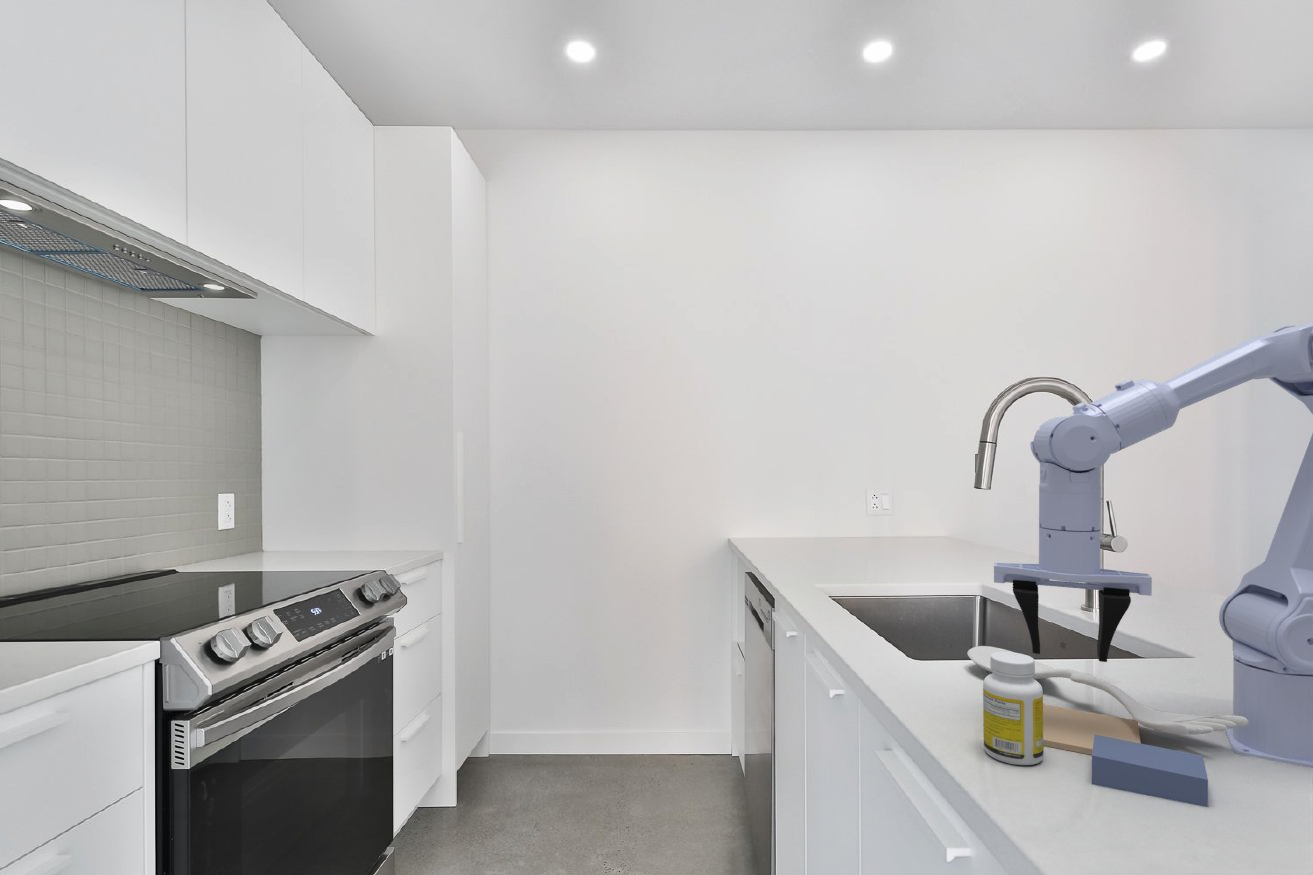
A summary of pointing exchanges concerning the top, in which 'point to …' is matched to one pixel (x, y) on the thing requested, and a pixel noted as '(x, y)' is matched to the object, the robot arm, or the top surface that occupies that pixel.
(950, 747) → the top surface
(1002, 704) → the supplement bottle
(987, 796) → the top surface
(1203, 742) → the top surface
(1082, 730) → the flat tan board
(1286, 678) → the robot arm
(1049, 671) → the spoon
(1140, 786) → the card box
